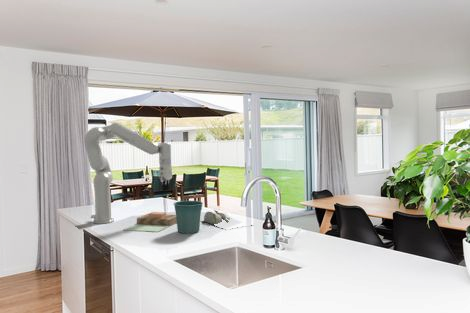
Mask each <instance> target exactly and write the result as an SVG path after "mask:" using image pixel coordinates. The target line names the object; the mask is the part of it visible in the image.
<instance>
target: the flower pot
mask: <svg viewBox="0 0 470 313" xmlns="http://www.w3.org/2000/svg"><path fill="white" fill-rule="evenodd" d="M203 205H204V203H203V202H202V201H199V200H180V201H174V202H173V206H174V210H175V215H176V219H177V223H176V229H177V232H178V233H181V234H186V235H188V234H195V233H198V232H199V231H200V227H201V226H200V225H201V222H200V221H201V213H202V209H203Z"/></svg>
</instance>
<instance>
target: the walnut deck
mask: <svg viewBox="0 0 470 313" xmlns="http://www.w3.org/2000/svg"><path fill="white" fill-rule="evenodd" d="M136 224H142V225H160V226H169V227H171V226H173V225H175V224H177V219H176V214H167V213H166V217H163V218H149V213H147V214H144V215H141V216H138V217H137V218H136Z"/></svg>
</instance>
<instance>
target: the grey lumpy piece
mask: <svg viewBox="0 0 470 313" xmlns="http://www.w3.org/2000/svg"><path fill="white" fill-rule="evenodd" d="M213 210H214V212H215V213H214V212H213V211H206V212H205V213H204V216H203V220H202V221H201V220H200V223H203V224H205V223H206V225H208V224H209V226H211V227H215V225H214V224H218V223H220V222H222V219H223V220H225V221H226V222H227V223H228V222H229V221H228V220H230V217H227V216H226V215H225V214H224V213H223V212H219V211H218V210H216V209H213ZM226 218H227V219H228V220H227V219H226Z"/></svg>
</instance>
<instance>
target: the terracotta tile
mask: <svg viewBox="0 0 470 313" xmlns="http://www.w3.org/2000/svg"><path fill="white" fill-rule="evenodd" d="M148 214H149V218H163V217H166V214H167V212H165V211H151V212H150V213H148Z"/></svg>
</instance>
